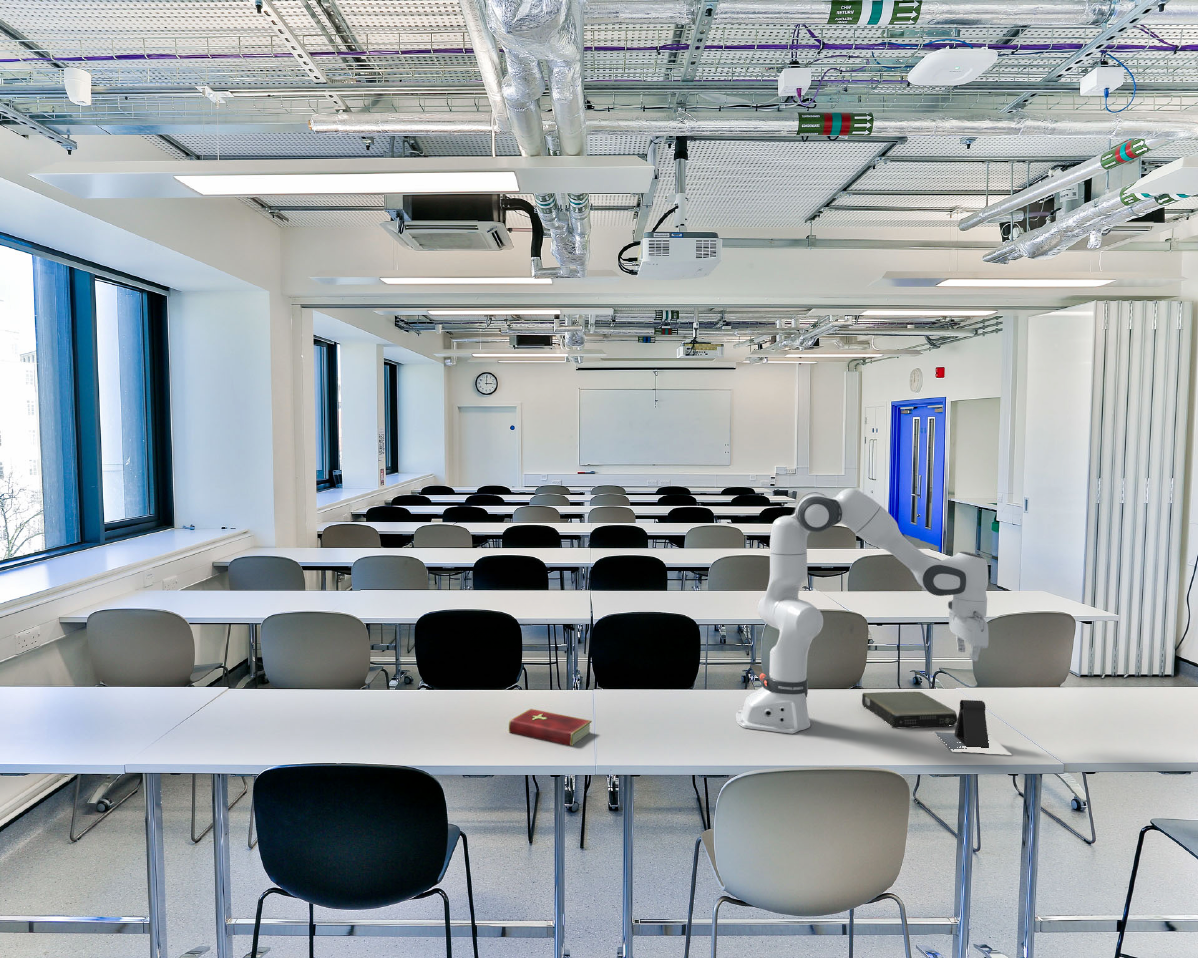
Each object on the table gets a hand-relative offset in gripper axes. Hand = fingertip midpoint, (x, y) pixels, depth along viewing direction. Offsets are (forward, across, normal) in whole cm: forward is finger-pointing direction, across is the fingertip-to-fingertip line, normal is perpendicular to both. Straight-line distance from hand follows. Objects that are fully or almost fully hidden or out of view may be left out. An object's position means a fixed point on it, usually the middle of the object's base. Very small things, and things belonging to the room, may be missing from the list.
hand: (967, 655), depth 216 cm
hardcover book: (+28, -11, +120) cm, 123 cm away
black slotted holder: (+25, -1, -2) cm, 25 cm away
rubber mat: (+25, -2, -2) cm, 25 cm away
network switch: (+26, +20, +9) cm, 34 cm away
